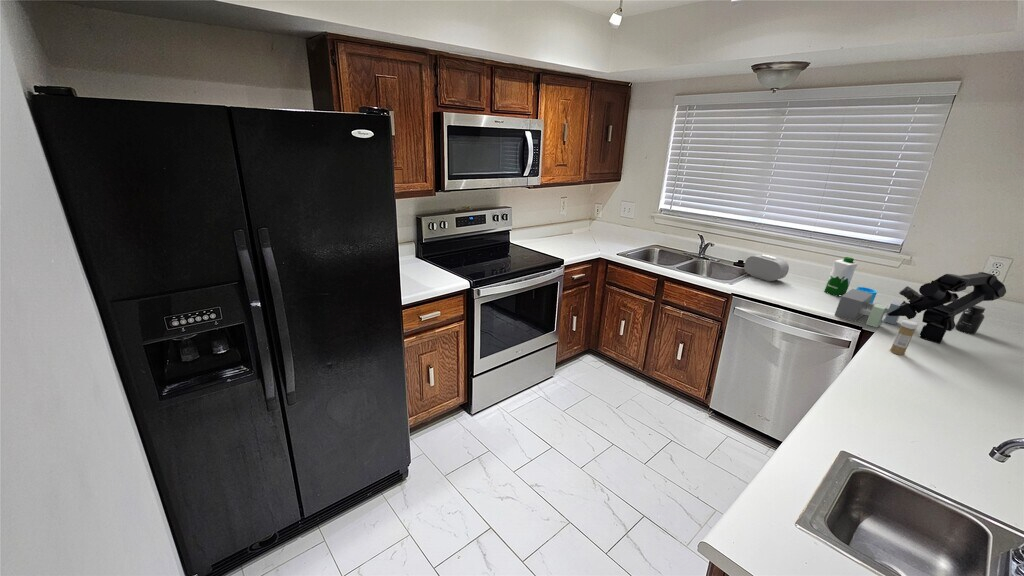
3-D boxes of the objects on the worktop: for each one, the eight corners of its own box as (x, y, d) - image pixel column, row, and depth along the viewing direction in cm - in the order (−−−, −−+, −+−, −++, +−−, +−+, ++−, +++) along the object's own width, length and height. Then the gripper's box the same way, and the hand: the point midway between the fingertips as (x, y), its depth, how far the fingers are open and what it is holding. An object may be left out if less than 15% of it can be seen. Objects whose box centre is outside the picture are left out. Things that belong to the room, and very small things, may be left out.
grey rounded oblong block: (785, 282, 239) (792, 260, 234) (776, 284, 234) (783, 262, 230) (750, 271, 255) (756, 250, 251) (742, 273, 251) (747, 252, 246)
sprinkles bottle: (906, 353, 163) (919, 323, 158) (902, 356, 161) (916, 325, 156) (891, 348, 167) (904, 318, 162) (887, 351, 164) (900, 321, 159)
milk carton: (847, 295, 223) (861, 260, 216) (838, 297, 220) (851, 261, 212) (830, 289, 231) (842, 255, 223) (821, 291, 227) (833, 256, 220)
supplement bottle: (958, 331, 185) (970, 307, 181) (951, 326, 191) (963, 302, 187) (979, 335, 182) (991, 311, 178) (971, 330, 188) (984, 306, 184)
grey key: (897, 321, 192) (904, 304, 189) (894, 324, 189) (902, 306, 186) (855, 309, 203) (861, 293, 200) (852, 312, 201) (858, 295, 197)
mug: (871, 309, 206) (877, 294, 203) (851, 304, 210) (857, 290, 208) (870, 302, 215) (875, 287, 212) (850, 298, 220) (856, 283, 217)
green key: (879, 324, 188) (887, 306, 184) (876, 327, 185) (884, 309, 182) (843, 313, 198) (849, 296, 195) (839, 316, 195) (846, 298, 192)
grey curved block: (865, 312, 201) (873, 293, 197) (854, 321, 190) (862, 301, 187) (845, 307, 207) (852, 288, 203) (834, 315, 196) (841, 296, 192)
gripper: (923, 279, 178) (881, 294, 190) (915, 287, 167) (871, 303, 179) (940, 301, 176) (897, 315, 187) (933, 312, 164) (887, 326, 176)
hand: (888, 314), depth 183 cm, fingers closed
